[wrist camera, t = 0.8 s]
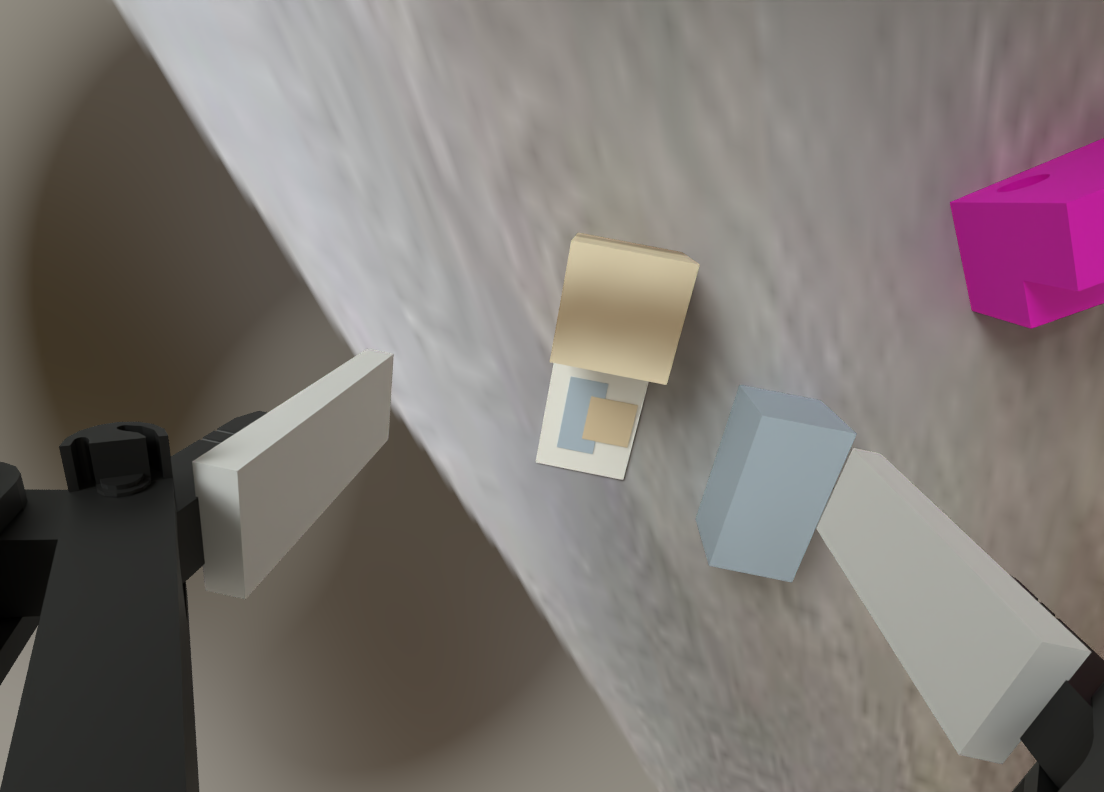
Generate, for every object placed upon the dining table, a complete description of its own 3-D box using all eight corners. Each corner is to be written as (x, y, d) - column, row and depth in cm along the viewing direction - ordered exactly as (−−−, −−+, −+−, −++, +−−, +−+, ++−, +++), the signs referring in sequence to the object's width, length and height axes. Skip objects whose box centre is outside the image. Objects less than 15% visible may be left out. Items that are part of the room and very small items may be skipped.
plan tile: (556, 349, 32) (556, 350, 31) (651, 367, 31) (652, 369, 31) (535, 460, 35) (535, 463, 34) (622, 478, 34) (623, 481, 34)
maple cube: (578, 232, 29) (571, 240, 24) (681, 252, 29) (699, 264, 23) (559, 333, 31) (549, 362, 26) (655, 351, 31) (666, 385, 26)
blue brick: (738, 383, 32) (762, 415, 27) (819, 399, 31) (856, 433, 27) (695, 517, 35) (708, 565, 31) (767, 531, 35) (792, 582, 30)
